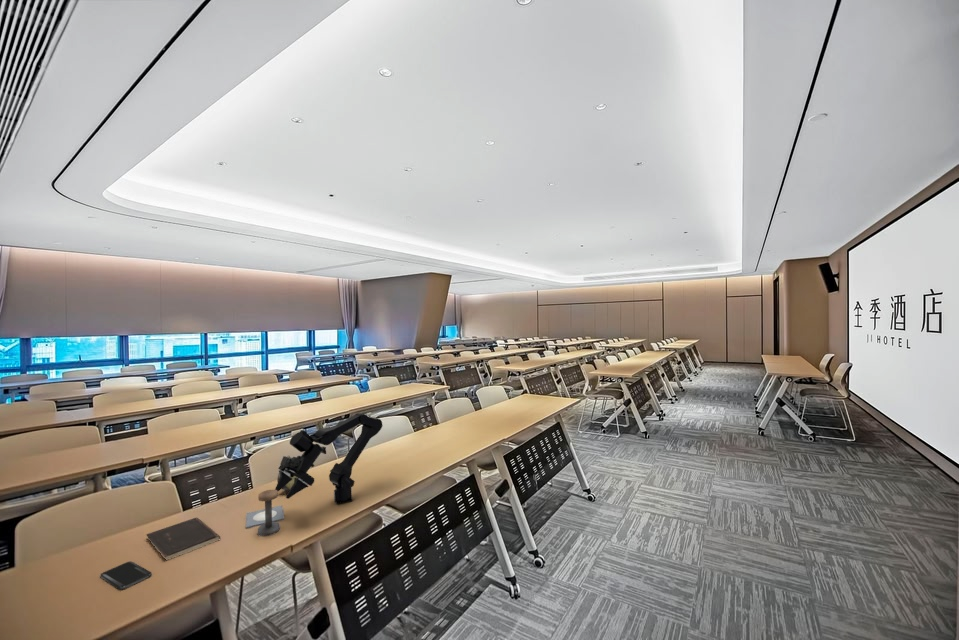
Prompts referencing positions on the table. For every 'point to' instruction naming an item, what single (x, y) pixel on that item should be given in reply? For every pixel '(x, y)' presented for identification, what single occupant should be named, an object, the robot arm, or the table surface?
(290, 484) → the alarm clock
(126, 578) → the phone
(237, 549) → the table surface
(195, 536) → the hardcover book
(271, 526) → the stool
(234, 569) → the table surface
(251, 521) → the mat
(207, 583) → the table surface
